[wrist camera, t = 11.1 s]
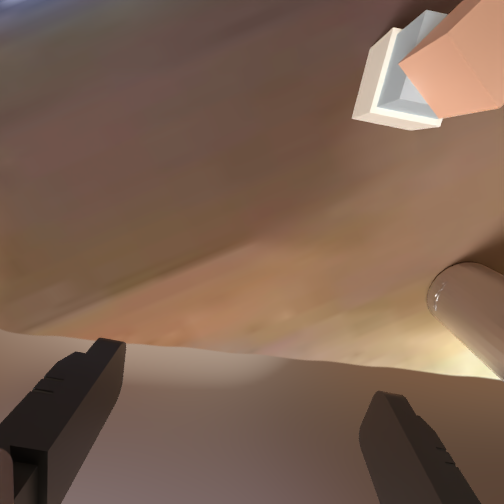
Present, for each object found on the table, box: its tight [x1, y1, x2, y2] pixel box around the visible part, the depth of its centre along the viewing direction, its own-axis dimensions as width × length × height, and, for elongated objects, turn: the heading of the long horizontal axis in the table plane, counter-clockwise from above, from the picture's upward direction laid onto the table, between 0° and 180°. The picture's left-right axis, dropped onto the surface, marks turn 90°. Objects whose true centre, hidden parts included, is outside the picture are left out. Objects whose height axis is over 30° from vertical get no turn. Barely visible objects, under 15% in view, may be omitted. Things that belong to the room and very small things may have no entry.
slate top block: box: [377, 10, 471, 119], centre depth 26 cm, size 6×6×5 cm
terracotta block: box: [398, 0, 504, 119], centre depth 20 cm, size 6×6×6 cm
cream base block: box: [352, 27, 443, 130], centre depth 31 cm, size 7×7×6 cm
